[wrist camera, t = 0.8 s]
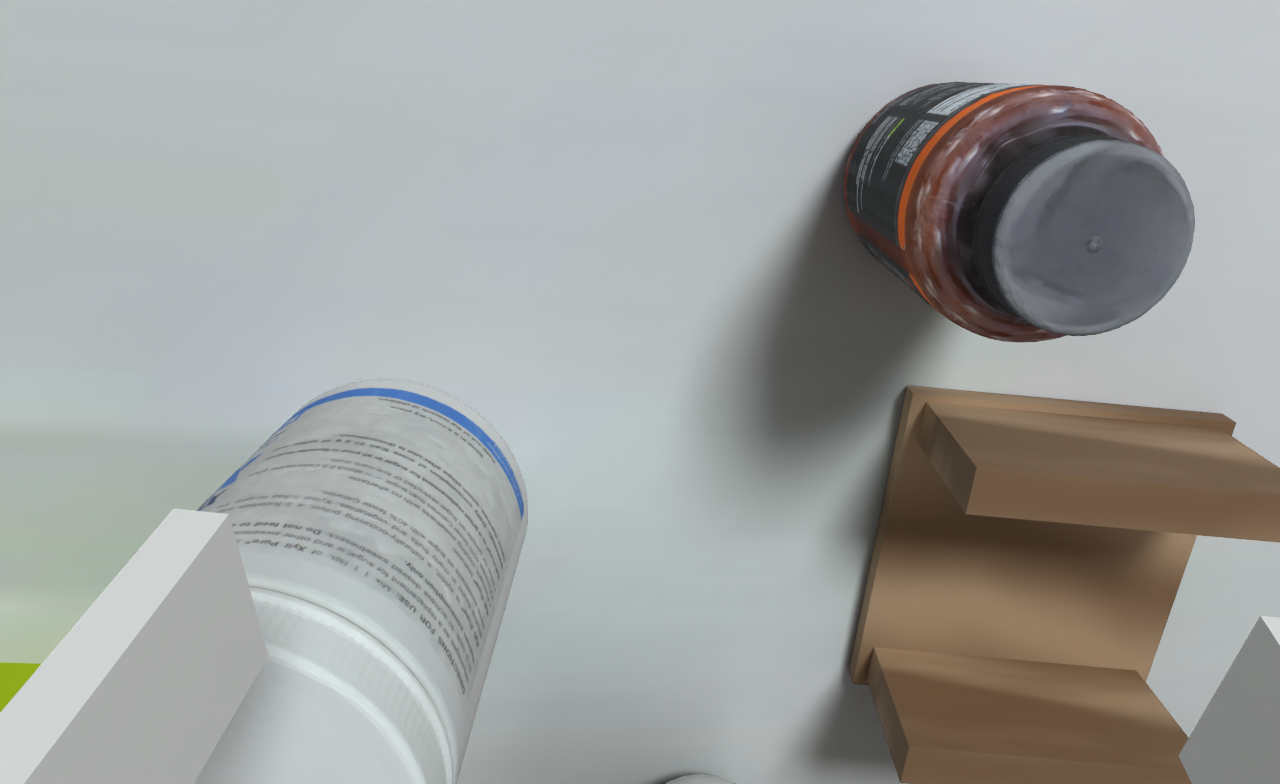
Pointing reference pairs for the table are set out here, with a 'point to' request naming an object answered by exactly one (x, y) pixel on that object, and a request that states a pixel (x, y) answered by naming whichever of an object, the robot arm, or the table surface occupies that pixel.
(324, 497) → the supplement tub
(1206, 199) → the table surface
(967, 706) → the holder cradle
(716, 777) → the white oval egg shape
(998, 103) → the supplement bottle
